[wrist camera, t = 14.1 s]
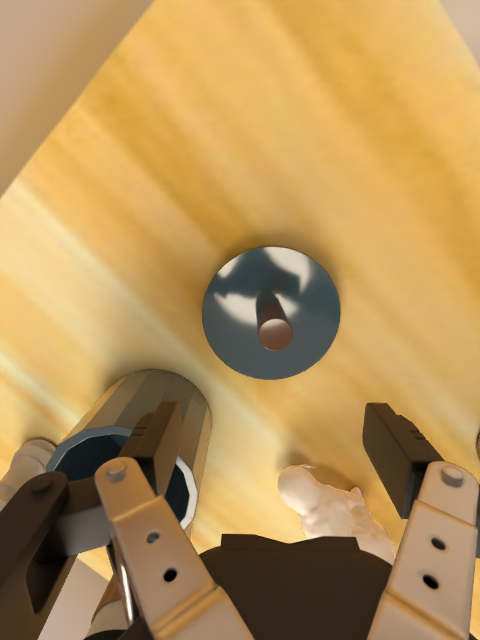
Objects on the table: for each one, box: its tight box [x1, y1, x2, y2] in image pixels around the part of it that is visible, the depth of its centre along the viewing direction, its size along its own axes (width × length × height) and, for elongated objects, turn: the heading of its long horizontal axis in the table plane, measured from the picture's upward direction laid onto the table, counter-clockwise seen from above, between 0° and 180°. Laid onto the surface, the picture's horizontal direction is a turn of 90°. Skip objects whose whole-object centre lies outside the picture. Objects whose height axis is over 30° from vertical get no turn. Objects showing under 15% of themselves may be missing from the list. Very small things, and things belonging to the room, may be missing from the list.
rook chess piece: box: [0, 439, 56, 512], centre depth 30 cm, size 4×4×8 cm
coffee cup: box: [84, 522, 191, 640], centre depth 29 cm, size 8×8×15 cm
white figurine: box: [278, 464, 395, 565], centre depth 30 cm, size 6×8×12 cm
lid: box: [202, 246, 340, 380], centre depth 26 cm, size 12×12×6 cm
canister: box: [45, 369, 212, 548], centre depth 28 cm, size 11×11×10 cm
